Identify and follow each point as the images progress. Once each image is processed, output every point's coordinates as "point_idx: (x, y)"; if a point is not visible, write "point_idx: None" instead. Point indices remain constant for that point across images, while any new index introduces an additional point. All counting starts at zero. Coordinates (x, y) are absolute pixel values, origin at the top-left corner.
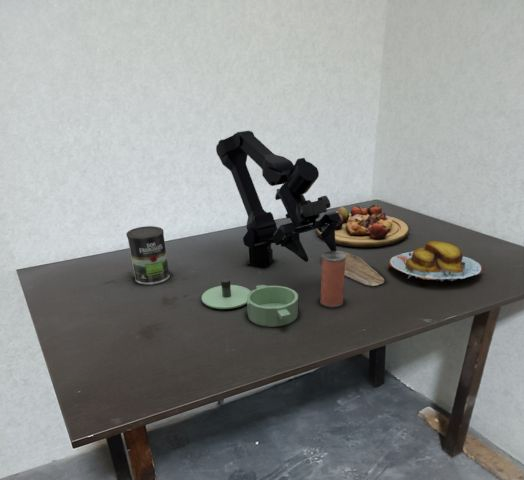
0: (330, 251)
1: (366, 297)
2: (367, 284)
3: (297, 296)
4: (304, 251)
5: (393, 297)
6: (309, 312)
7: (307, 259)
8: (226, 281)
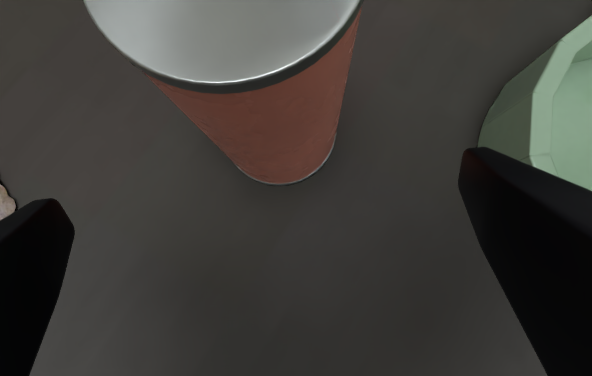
0: (175, 70)
1: (105, 93)
2: (6, 199)
3: (550, 65)
4: (549, 195)
5: (5, 34)
6: (428, 98)
7: (483, 147)
8: None
